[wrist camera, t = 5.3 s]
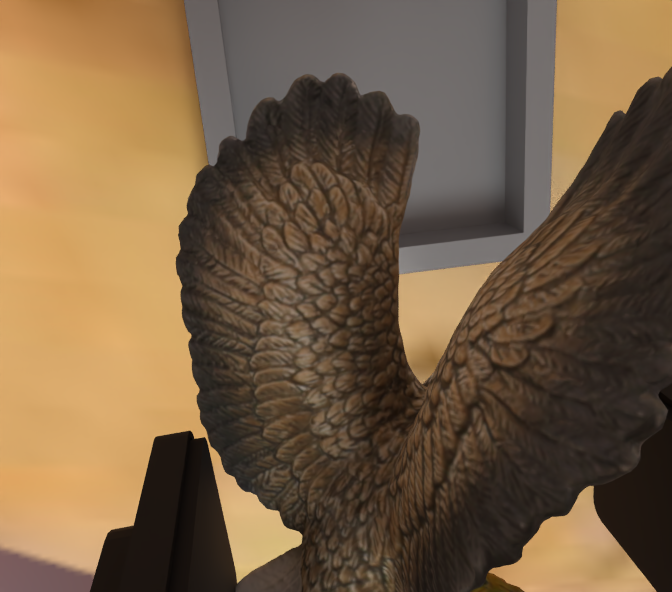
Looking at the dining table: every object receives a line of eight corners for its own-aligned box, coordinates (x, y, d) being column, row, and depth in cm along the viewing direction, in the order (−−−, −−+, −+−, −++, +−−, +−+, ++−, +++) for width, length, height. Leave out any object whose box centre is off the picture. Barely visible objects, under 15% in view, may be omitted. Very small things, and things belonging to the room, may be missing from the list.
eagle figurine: (676, 491, 13) (739, 0, 8) (681, 976, 7) (879, 354, 3) (329, 431, 16) (229, 60, 11) (157, 737, 11) (-168, 272, 6)
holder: (529, -129, 22) (561, -151, 20) (522, 239, 26) (548, 255, 24) (173, -106, 21) (164, -127, 18) (229, 275, 25) (228, 295, 23)
